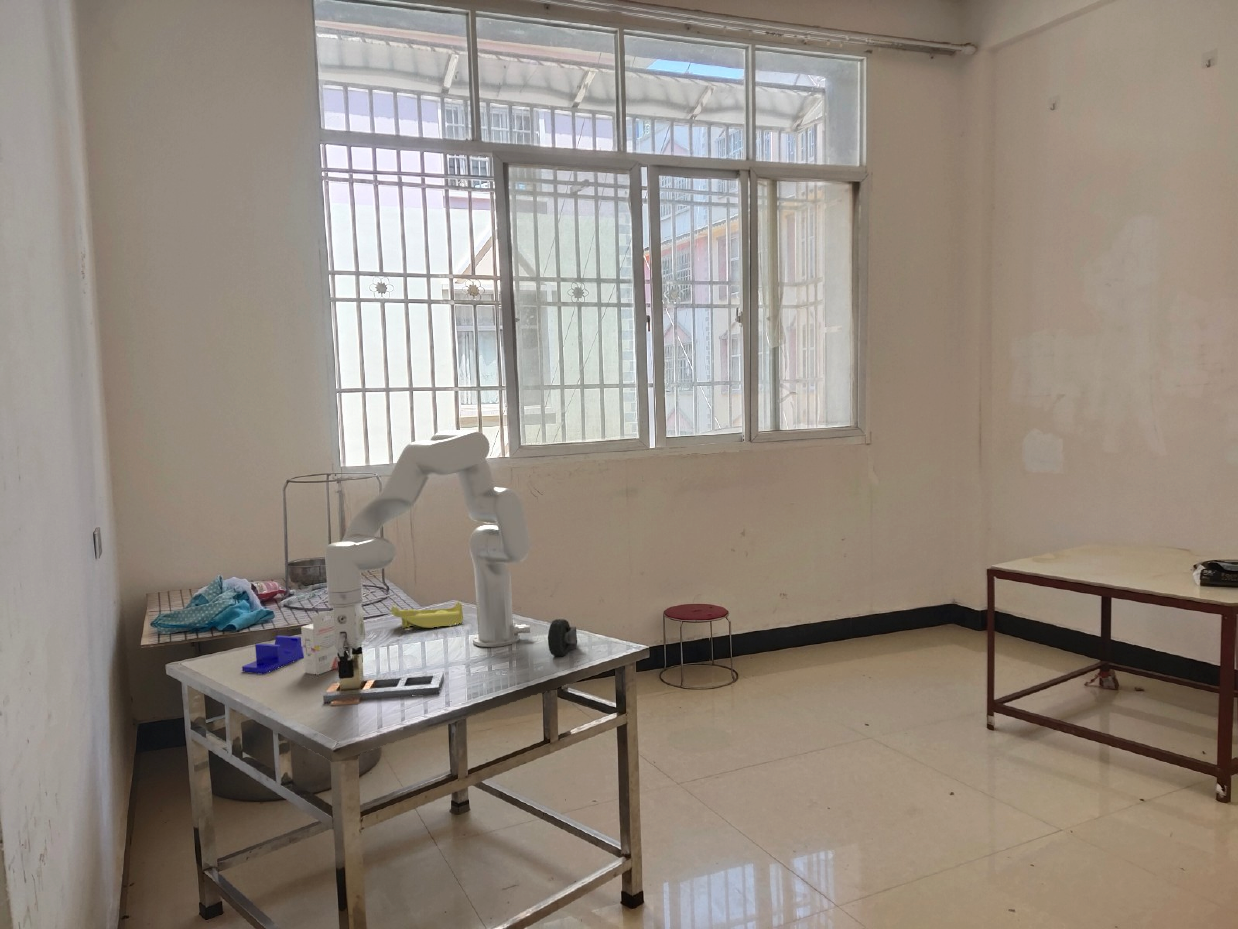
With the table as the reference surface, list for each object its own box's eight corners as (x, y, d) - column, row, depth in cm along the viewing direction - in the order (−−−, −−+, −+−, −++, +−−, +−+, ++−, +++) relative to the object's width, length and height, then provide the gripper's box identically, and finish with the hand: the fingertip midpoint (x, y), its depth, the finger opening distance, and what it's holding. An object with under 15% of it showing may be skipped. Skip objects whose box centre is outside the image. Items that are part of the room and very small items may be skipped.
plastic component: (454, 608, 257) (461, 600, 248) (456, 632, 254) (464, 624, 246) (388, 613, 249) (393, 604, 240) (390, 637, 246) (395, 630, 238)
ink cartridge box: (332, 663, 214) (328, 606, 213) (345, 665, 212) (341, 608, 210) (303, 673, 207) (299, 614, 206) (316, 675, 204) (312, 616, 203)
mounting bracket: (293, 652, 227) (291, 630, 226) (314, 654, 224) (313, 632, 224) (242, 673, 210) (240, 650, 209) (265, 675, 207) (263, 652, 207)
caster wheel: (565, 664, 207) (584, 641, 222) (562, 627, 206) (581, 606, 220) (544, 663, 209) (564, 640, 223) (541, 626, 207) (561, 606, 222)
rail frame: (444, 678, 198) (443, 671, 198) (437, 697, 185) (437, 690, 185) (335, 686, 195) (335, 679, 195) (321, 706, 183) (320, 699, 182)
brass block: (364, 687, 193) (361, 653, 192) (360, 694, 189) (358, 659, 188) (344, 689, 192) (342, 655, 192) (340, 696, 188) (338, 661, 187)
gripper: (354, 605, 181) (360, 682, 182) (370, 587, 198) (375, 658, 199) (318, 607, 180) (325, 685, 181) (337, 589, 197) (343, 660, 198)
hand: (351, 670), depth 190 cm, fingers open, 9 cm apart
